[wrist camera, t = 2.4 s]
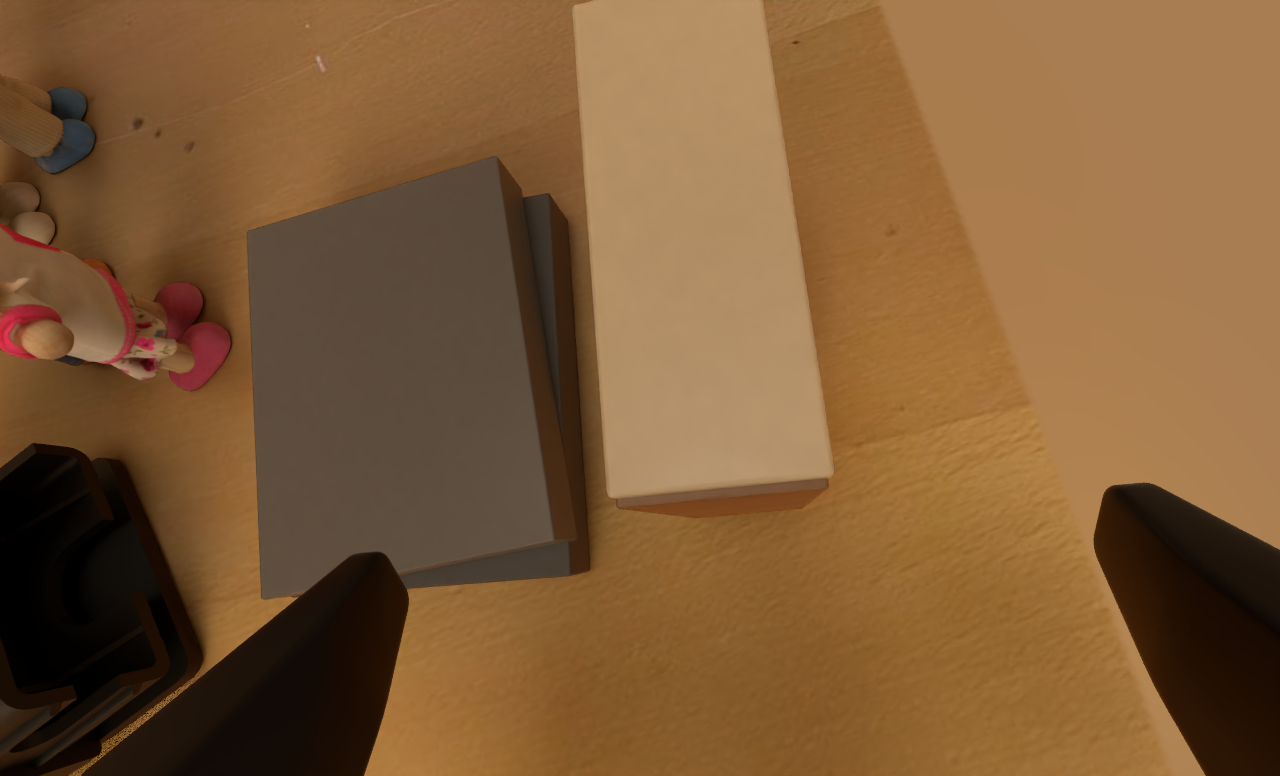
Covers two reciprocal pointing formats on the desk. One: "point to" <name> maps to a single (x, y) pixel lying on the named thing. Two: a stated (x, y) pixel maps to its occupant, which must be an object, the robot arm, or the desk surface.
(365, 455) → the grey books
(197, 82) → the desk surface
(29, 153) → the doll family
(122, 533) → the end cap
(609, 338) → the cream book
